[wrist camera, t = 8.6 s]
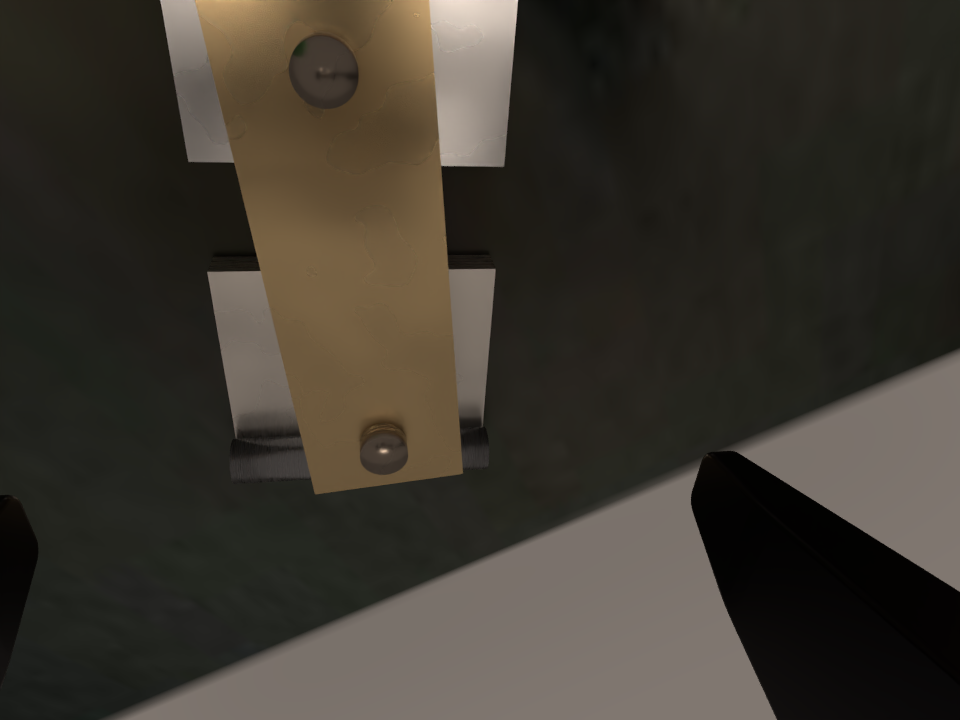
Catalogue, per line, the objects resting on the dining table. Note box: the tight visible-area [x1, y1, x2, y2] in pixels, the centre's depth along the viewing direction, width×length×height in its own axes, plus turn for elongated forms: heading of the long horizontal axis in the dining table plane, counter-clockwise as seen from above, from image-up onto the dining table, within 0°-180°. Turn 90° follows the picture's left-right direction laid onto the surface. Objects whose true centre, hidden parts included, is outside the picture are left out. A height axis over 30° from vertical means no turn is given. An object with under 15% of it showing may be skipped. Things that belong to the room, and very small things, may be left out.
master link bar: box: [195, 0, 463, 494], centre depth 16 cm, size 4×12×5 cm, turn 2°
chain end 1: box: [160, 0, 518, 167], centre depth 15 cm, size 8×7×2 cm
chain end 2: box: [207, 255, 496, 484], centre depth 21 cm, size 8×7×2 cm
